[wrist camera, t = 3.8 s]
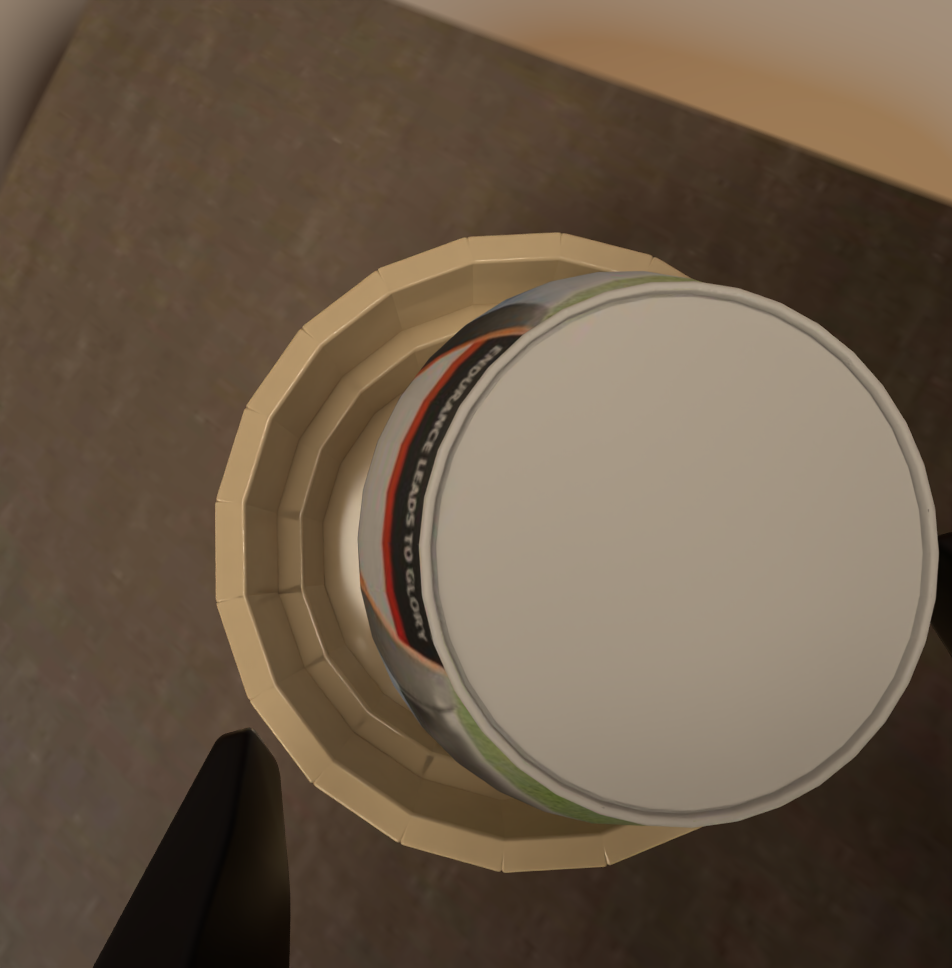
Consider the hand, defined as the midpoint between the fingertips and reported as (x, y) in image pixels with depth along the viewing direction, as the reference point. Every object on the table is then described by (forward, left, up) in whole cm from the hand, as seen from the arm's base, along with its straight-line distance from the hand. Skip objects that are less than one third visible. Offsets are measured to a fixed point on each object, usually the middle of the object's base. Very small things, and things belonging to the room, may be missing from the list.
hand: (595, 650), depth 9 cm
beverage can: (+2, -1, -9) cm, 9 cm away
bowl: (+2, -1, -9) cm, 9 cm away
